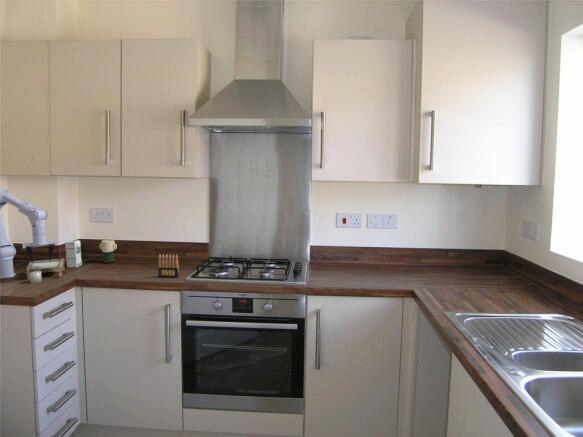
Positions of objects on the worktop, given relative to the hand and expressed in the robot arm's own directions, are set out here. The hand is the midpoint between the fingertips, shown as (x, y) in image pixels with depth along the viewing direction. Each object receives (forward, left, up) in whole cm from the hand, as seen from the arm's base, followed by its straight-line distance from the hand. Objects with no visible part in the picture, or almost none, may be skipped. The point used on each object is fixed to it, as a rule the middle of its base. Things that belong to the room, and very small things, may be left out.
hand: (41, 261), depth 214 cm
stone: (-2, -3, -10) cm, 10 cm away
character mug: (+31, +30, -10) cm, 44 cm away
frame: (+1, +11, -10) cm, 14 cm away
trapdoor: (+1, +10, -5) cm, 11 cm away
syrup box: (+13, +27, -10) cm, 31 cm away
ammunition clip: (+59, -19, -10) cm, 63 cm away
